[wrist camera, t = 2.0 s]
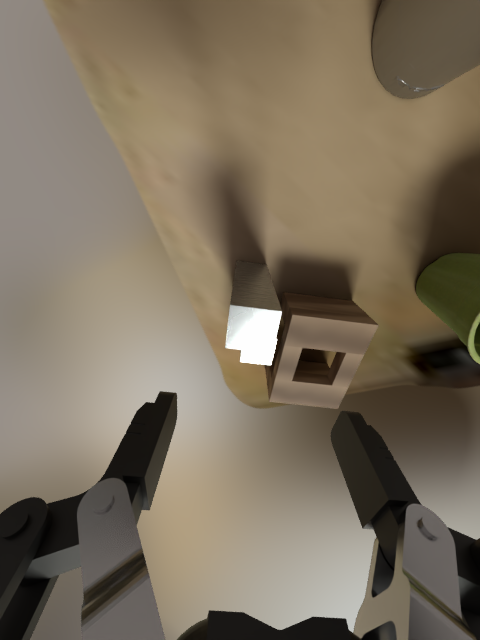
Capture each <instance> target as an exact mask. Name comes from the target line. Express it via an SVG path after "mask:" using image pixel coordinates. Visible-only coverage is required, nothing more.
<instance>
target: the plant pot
mask: <svg viewBox="0 0 480 640" xmlns="http://www.w3.org/2000/svg"><path fill="white" fill-rule="evenodd" d="M416 294H417V296H418V297H419V299H420V300H421V302H422V303H424V304H425V305H426V306H427V307H428V308H429V309H430V310H431V311H432V312H434V313H435V314H436V315H437V316H438V317H439V318H440V319H441V320H442V321H443V322H444V323H446V324H447V325H448V326H449V327H450V328H451V329H452V330H453V331H454V332H455V333H456V334H457V335H458V337H459V338H460V340H461V341H462V342H463V343H464V344H465V345H467V347H468V351H469V353H470V355H471V357H472V358H473V359H474V360H475V361H476V362H477V363H479V364H480V254H470V253H452V254H447V255H444V256H442V257H440V258H439V259H438V260H437V261H435V262H434V263H432V264H430V265H429V266H427V267H426V268H425V270H424V271H423V272H422V273H421V275H420V277H419V279H418V281H417V285H416Z"/></svg>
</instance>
